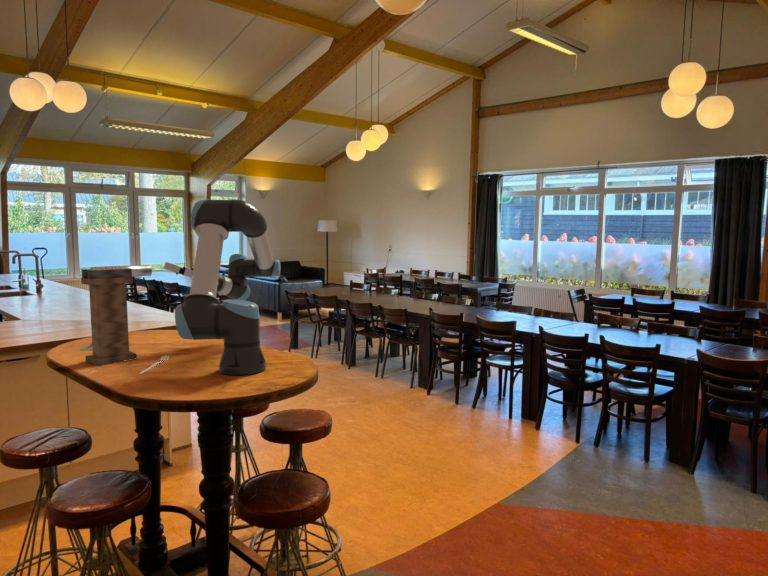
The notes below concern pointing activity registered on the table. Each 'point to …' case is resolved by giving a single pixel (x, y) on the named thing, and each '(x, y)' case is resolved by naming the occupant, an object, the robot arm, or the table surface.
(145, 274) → the chrome rounded rod
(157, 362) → the fork
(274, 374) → the table surface
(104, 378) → the table surface
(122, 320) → the walnut stand
